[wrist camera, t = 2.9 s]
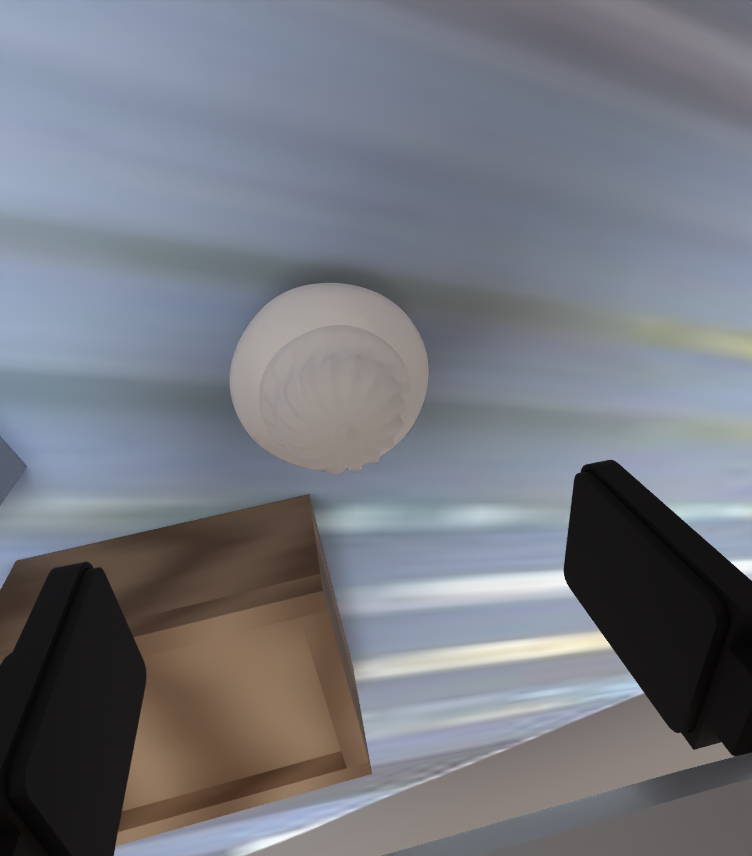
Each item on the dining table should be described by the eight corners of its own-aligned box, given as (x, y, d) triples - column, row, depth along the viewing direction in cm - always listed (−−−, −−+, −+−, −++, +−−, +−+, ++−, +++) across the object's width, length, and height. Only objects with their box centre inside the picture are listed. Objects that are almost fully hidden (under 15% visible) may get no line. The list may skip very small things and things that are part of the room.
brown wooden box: (308, 490, 23) (322, 590, 18) (352, 663, 29) (371, 773, 24) (18, 555, 22) (-50, 682, 17) (128, 721, 28) (101, 850, 23)
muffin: (197, 307, 18) (169, 398, 12) (359, 222, 18) (411, 274, 12) (287, 442, 21) (300, 567, 15) (426, 373, 21) (493, 473, 15)
